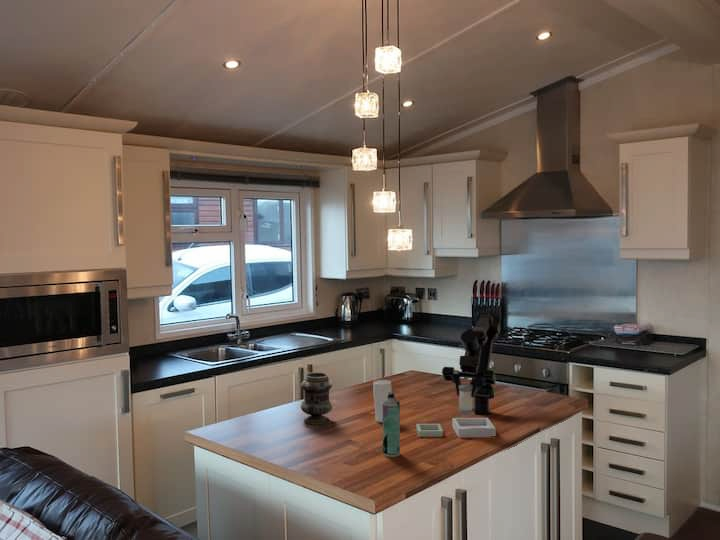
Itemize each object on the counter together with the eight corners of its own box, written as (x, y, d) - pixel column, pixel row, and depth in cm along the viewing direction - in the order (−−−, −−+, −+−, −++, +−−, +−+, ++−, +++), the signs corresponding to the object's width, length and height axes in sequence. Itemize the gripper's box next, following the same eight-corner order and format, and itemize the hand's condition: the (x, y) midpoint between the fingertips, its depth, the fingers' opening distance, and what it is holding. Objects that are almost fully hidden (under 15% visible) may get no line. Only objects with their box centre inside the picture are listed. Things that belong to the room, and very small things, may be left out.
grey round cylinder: (456, 411, 224) (456, 384, 224) (468, 410, 226) (468, 383, 225) (463, 415, 220) (463, 387, 219) (475, 414, 221) (475, 386, 221)
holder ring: (416, 429, 227) (416, 423, 227) (439, 429, 227) (439, 423, 227) (418, 436, 218) (418, 431, 218) (443, 436, 218) (443, 431, 218)
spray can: (398, 451, 204) (398, 390, 203) (400, 457, 199) (400, 395, 198) (382, 451, 204) (382, 391, 203) (383, 457, 199) (383, 395, 197)
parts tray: (452, 426, 230) (452, 418, 230) (487, 425, 231) (487, 417, 230) (458, 437, 217) (458, 429, 217) (495, 437, 218) (495, 428, 217)
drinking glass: (370, 419, 239) (370, 380, 238) (387, 417, 242) (386, 379, 241) (377, 424, 233) (377, 384, 232) (394, 422, 235) (394, 383, 235)
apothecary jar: (328, 426, 231) (327, 378, 230) (296, 424, 233) (296, 377, 232) (335, 417, 243) (335, 371, 242) (306, 415, 245) (305, 370, 244)
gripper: (443, 344, 228) (434, 381, 219) (494, 348, 221) (488, 386, 212) (448, 361, 236) (441, 397, 227) (498, 365, 229) (492, 402, 220)
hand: (464, 395), depth 221 cm, fingers closed on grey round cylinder, 5 cm apart
